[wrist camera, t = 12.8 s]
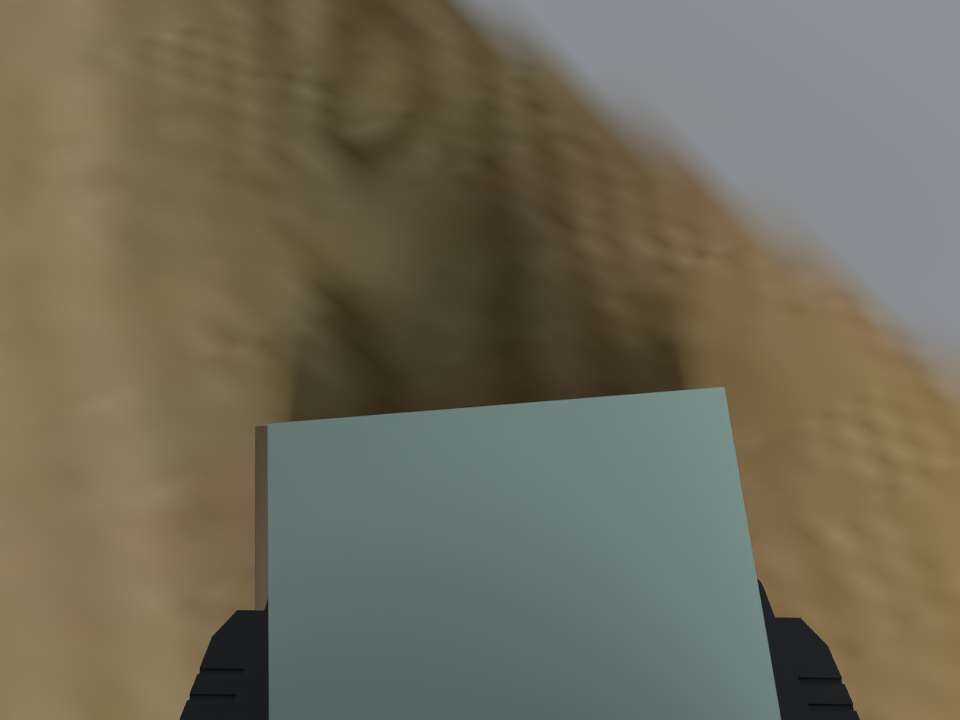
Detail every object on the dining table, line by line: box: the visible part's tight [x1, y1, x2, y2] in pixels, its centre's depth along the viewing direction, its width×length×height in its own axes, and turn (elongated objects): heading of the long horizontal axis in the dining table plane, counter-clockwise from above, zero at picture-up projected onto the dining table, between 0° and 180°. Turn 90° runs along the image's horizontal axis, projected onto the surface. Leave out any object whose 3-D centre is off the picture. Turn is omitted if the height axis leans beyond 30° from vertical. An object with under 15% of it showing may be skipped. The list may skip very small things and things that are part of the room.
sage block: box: [268, 387, 781, 720], centre depth 13 cm, size 5×5×8 cm
